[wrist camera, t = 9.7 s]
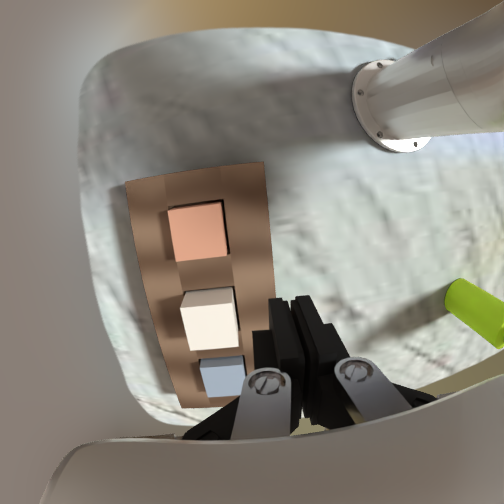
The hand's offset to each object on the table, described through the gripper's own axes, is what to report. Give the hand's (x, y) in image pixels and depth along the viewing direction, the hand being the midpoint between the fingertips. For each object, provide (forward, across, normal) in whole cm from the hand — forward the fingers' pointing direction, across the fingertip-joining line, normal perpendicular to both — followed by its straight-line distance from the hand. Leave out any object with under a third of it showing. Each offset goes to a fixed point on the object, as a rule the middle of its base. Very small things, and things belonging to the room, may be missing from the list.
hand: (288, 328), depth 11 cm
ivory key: (+18, +6, +8) cm, 20 cm away
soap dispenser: (+22, -32, +14) cm, 41 cm away
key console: (+21, +6, +8) cm, 24 cm away
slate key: (+20, +5, +17) cm, 27 cm away
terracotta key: (+20, +6, -1) cm, 21 cm away
